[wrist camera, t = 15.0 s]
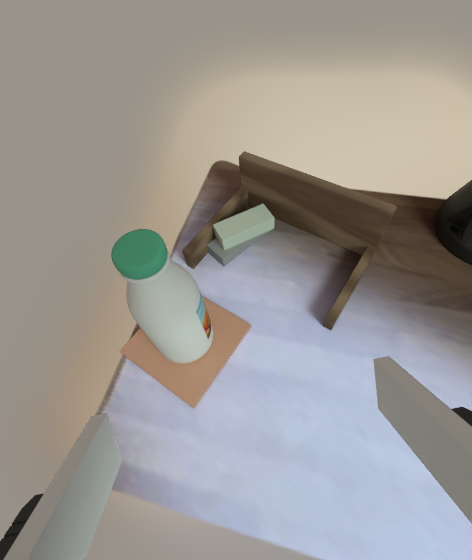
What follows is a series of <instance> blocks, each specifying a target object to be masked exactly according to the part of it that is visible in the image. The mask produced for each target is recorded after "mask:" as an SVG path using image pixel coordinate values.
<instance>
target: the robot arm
mask: <svg viewBox="0 0 472 560" xmlns="http://www.w3.org/2000/svg"><path fill="white" fill-rule="evenodd" d="M435 230H436V233H437V235H438V237H439V239H440V240H441V242H442V243H443V244H444V245H445V247H446V248H447V249H449V250H450V251H451V252H452V253H453V254H455V255H456V256H457V257H459V258H461V259H462V260H464V261H466V262H468V263H470V264H472V180H471V181H470V182H468V183H467V184H466V185H464V186H463V187H462V188H460V189H459V190H458V191H457V192H455V193H454V194H452V196H450V197H449V198H448V199H447V200H446V201H445V202H444V203H443V205H442V206H441V208H440V209H439V211H438V212H437V214H436V217H435ZM374 369H375V379H376V389H377V400H378V409H379V410H380V411H381V412H382V414H383V415H384V416H385V417H386V419H387V420H388V421H389V422H390V423H391V425H392V426H393V427H394V428H395V430H396V431H397V432H398V433H399V435H400V436H401V437H402V438H403V439H404V441H405V442H406V443H407V444H408V446H409V447H410V448H411V449H412V451H413V452H414V453H415V454H416V456H417V457H418V458H419V459H420V460H421V462H422V463H423V464H424V465H425V467H426V468H427V469H428V470H429V472H430V473H431V474H432V475H433V476H434V478H435V479H436V480H437V481H438V483H439V484H440V485H441V486H442V488H443V489H444V490H445V491H446V492H447V494H448V495H449V496H450V497H451V499H452V500H453V501H454V502H455V504H456V505H457V506H458V507H459V508H460V510H461V511H462V512H463V513H464V515H465V516H466V517H467V518H468V520H469V521H470V522H471V523H472V411H470V410H468V409H466V408H464V407H459V408H454V409H450V408H449V407H448V406H447V405H446V404H444V403H443V402H442V401H441V400H440V399H438V398H437V397H436V396H435V395H434V394H433V393H431V392H430V391H429V390H428V389H427V388H426V387H424V386H423V385H422V384H421V383H420V382H419V381H417V380H416V379H415V378H414V377H413V376H411V375H410V374H409V373H408V372H407V371H406V370H404V369H403V368H402V367H401V366H400V365H399V364H397V363H396V362H395V361H394V360H393V359H391V358H390V357H389V356H388V357H383V358H378V359H374ZM121 463H122V458H121V455H120V452H119V449H118V446H117V443H116V440H115V436H114V433H113V430H112V427H111V424H110V421H109V418H108V414H107V413H106V414H101V415H96V416H92V417H91V418H90V420H89V421H88V423H87V424H86V426H85V428H84V429H83V431H82V433H81V434H80V436H79V437H78V439H77V441H76V442H75V444H74V445H73V447H72V449H71V450H70V452H69V454H68V455H67V457H66V459H65V460H64V462H63V463H62V465H61V467H60V468H59V470H58V472H57V473H56V475H55V476H54V478H53V480H52V481H51V483H50V485H49V486H48V488H47V490H46V491H45V493H44V494H40V495H35V496H34V497H33V498H32V499H31V500H30V501H29V502H28V503H27V504H26V505H25V506H24V507H23V508H22V509H21V511H20V512H19V514H18V516H17V517H16V518H15V520H14V522H13V523H12V526H10V528H9V529H8V531H7V532H6V534H5V535H4V538H3V539H2V540H1V541H0V560H85V557H86V555H87V552H88V549H89V547H90V544H91V542H92V539H93V536H94V534H95V531H96V528H97V526H98V523H99V521H100V518H101V515H102V513H103V510H104V508H105V505H106V502H107V500H108V497H109V495H110V492H111V489H112V487H113V484H114V481H115V479H116V476H117V474H118V471H119V468H120V466H121Z"/></svg>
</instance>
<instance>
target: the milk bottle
mask: <svg viewBox="0 0 472 560" xmlns="http://www.w3.org/2000/svg"><path fill="white" fill-rule="evenodd" d="M112 261H113V263H114V265H115V267H116V268H117V270H118V271H119V272H120V273H121V275H122V277H123V278H124V279H126V280H127V282H128V284H127V303H128V306H129V309H130V312H131V314H132V315H133V317H134V319H135V320H136V322H137V323H138V325H139V326H140V327H141V329H142V330H143V331H144V333H145V334H146V335H147V336H148V338H149V339H150V340H151V341H152V342H153V344H154V345H155V346H156V347H157V349H158V350H159V351H160V352H161V353H162V354H163V355H164V356H165V357H166V358H167V359H168V360H170V361H172V362H175V363H181V364H184V363H190V362H193V361H196V360H198V359H199V358H201V357H202V356H203V355H204V354H205V353H206V352H207V351H208V349H209V348H210V346H211V344H212V341H213V327H212V324H211V321H210V318H209V315H208V312H207V309H206V306H205V304H204V301H203V298H202V296H201V293H200V290H199V288H198V286H197V284H196V282H195V280H194V279H193V277H192V276H191V274H190V273H189V272H188V271H187V270H186V269H185V268H183V267H182V266H181V265H179V264H177V263H175V262H173V261H172V260H170V256H169V252H168V250H167V248H166V246H165V243H164V241H163V239H162V238H161V237H160V236H159V234H157V233H156V232H154V231H152V230H147V229H139V230H134V231H131V232H129V233H127V234H125V235H123V236H122V237H121V238H120V239H119V240H118V241H117V242H116V243H115V245H114V246H113V249H112Z"/></svg>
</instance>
